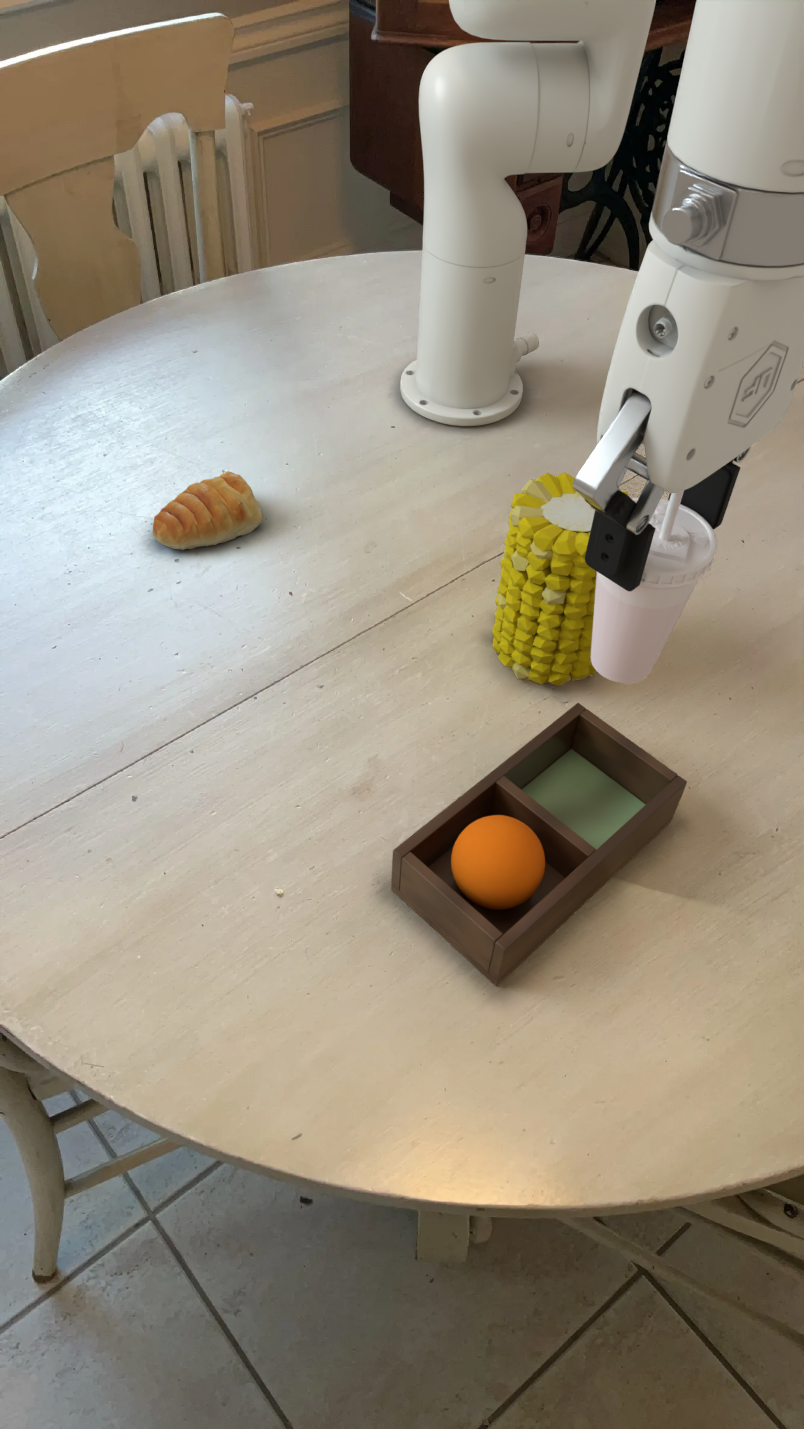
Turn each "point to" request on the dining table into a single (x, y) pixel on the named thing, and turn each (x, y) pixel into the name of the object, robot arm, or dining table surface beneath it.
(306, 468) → the dining table surface
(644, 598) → the smoothie
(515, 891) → the clementine
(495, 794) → the tray
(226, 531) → the pastry
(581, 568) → the food
